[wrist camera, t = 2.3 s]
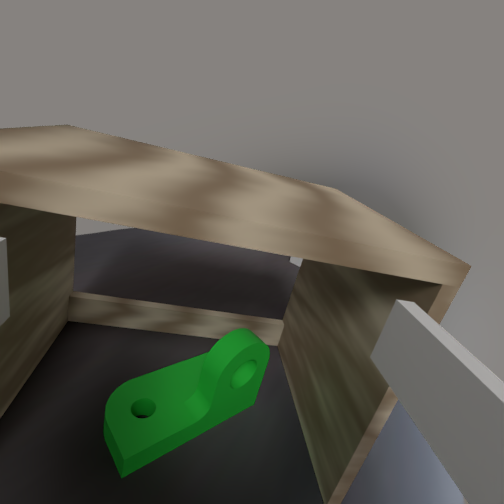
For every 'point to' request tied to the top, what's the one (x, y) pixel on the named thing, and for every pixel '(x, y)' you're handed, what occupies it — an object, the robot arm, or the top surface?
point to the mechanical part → (183, 400)
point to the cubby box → (230, 233)
